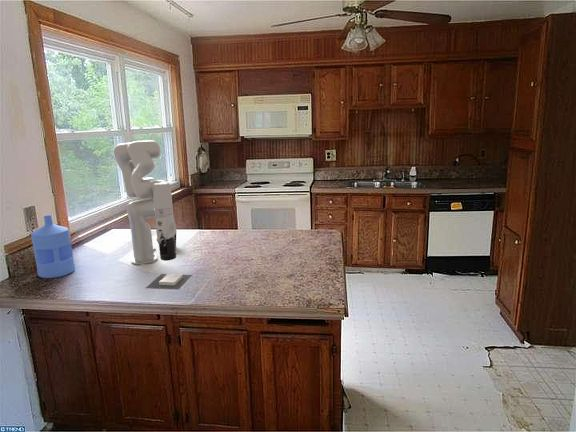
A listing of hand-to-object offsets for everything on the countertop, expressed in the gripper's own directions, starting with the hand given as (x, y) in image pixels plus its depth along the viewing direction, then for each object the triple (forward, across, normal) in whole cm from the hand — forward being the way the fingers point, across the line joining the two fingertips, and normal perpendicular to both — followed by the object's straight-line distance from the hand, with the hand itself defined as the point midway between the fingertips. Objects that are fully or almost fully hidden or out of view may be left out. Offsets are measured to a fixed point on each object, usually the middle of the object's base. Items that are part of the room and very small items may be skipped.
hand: (167, 251), depth 172 cm
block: (+13, 0, +3) cm, 14 cm away
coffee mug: (+15, +48, +21) cm, 54 cm away
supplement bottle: (+3, 0, 0) cm, 3 cm away
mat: (+15, 0, +1) cm, 15 cm away
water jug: (+15, +7, +61) cm, 63 cm away
